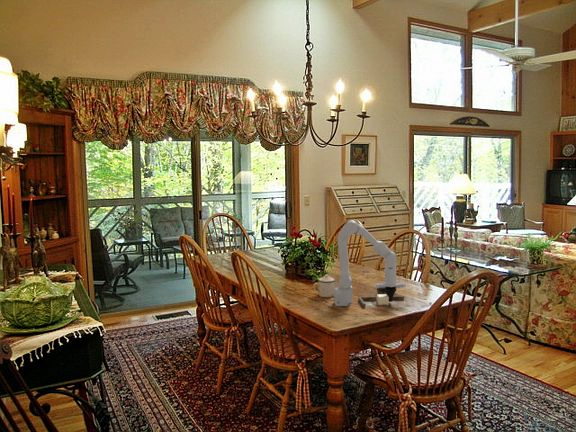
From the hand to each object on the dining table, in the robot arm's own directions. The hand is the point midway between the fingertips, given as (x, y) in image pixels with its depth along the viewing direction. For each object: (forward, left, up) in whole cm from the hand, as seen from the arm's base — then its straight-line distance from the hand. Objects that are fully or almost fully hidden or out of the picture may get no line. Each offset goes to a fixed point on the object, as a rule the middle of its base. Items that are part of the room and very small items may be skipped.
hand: (390, 301), depth 248 cm
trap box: (-2, -1, -2) cm, 3 cm away
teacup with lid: (-31, +23, -3) cm, 39 cm away
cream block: (-4, 0, -1) cm, 4 cm away
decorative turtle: (+2, +16, -3) cm, 16 cm away
